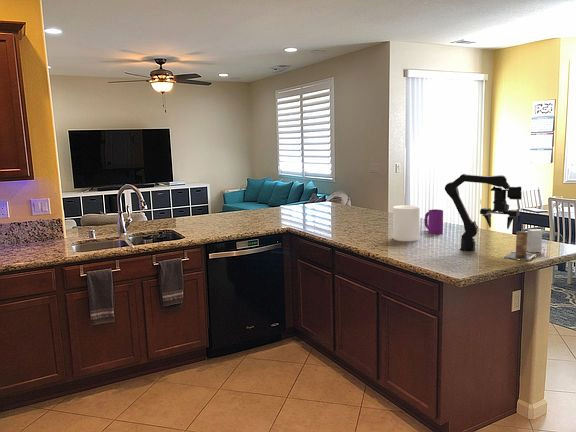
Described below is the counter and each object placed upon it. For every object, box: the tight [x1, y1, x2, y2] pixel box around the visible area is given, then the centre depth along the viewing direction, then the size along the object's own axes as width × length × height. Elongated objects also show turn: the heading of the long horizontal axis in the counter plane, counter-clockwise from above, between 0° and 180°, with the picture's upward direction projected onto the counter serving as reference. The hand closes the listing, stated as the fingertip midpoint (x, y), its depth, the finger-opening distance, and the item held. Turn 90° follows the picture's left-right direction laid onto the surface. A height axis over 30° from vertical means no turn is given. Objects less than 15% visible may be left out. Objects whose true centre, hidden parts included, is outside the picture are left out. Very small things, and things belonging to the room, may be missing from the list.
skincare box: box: [526, 228, 543, 253], centre depth 252 cm, size 6×4×12 cm
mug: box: [424, 208, 444, 235], centre depth 313 cm, size 9×16×15 cm, turn 22°
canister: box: [392, 204, 421, 242], centre depth 295 cm, size 16×16×20 cm
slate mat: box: [503, 250, 537, 262], centre depth 242 cm, size 12×12×1 cm
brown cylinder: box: [515, 230, 528, 258], centre depth 239 cm, size 5×5×13 cm
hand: (498, 228), depth 254 cm, fingers open, 9 cm apart
